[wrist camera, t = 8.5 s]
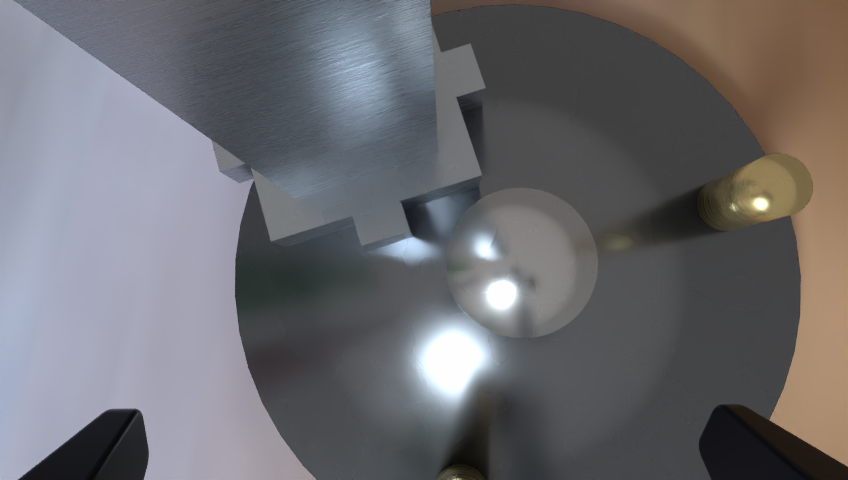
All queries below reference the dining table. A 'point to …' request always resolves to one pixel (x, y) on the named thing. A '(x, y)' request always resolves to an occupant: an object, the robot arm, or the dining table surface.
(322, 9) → the square pipe section
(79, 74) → the dining table surface
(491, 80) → the disc
